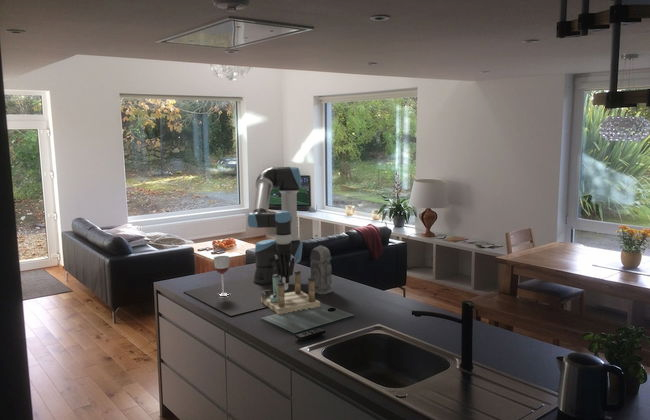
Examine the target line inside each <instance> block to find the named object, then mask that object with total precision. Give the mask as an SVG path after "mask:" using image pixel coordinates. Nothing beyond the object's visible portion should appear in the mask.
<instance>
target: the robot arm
mask: <svg viewBox="0 0 650 420" xmlns="http://www.w3.org/2000/svg"><path fill="white" fill-rule="evenodd" d="M255 181H256V182H255V188H256V190H255V191H256V192H255V199H254V204H253V211H252V212H250V213H248V214H247V226H248V227H249V228H254V229H255V228H256V229H262V228H267V229H268V228H275V239H263V240H261V241H258V242H256V243H255V245H254V246H255V249H254V252H255V270H254V274H253V276H252V282H253V283H254V282H255V283H254V284H257V283H258V284H260V285H273V276H272V275H274V274H278V275H279V282H280V278H281V282H280V283H284V291H287V290H288V289H289V283H290V277H291V276H292V275H293V274H294V268H295V264H296V263H299V262H300V261H301V259H302V253H303V241H301V238H300V237H299V236H298V207H297V206H298V203H297V202H298V201H297V200H298V199H297V198H298V197H297V194H298V193H299V191H300V188H302V178H301V172H300V169H299V167H296V166H276V167H275V166H272V167H268V168H266V169H264V170H263V171H261V173H260V174H259V175H258V176H257V178H256V180H255ZM273 188H274V189H278V192H279V193H280V194H281V201H280V202H281V210H277V211H276V212H269V207H270V199H271V198H270V197H271V191H272V190H273ZM258 284H257V285H258Z"/></svg>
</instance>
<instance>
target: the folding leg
mask: <svg viewBox="0 0 650 420" xmlns="http://www.w3.org/2000/svg"><path fill="white" fill-rule="evenodd" d="M272 276H273V283H272V295H274V294H276V295H277V297H273V296H271V297H270V302H273V303H276V302H278V283H280V281H279V276H280V275H278V274H274V275H272Z"/></svg>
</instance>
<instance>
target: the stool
mask: <svg viewBox="0 0 650 420" xmlns="http://www.w3.org/2000/svg"><path fill="white" fill-rule="evenodd" d="M293 274H294V291H289V292H285V290H284V283H282V282H279V283H278V302H276V303H273V302H270V297H271V296H273V297H277V295H276V294H274V295H273V294H271V291H272V289H266V290H262V291H261V297H260V302H261V304H263V305H265V306H266V307H267V308H269V309H271V311H272V312H274V313H275V314H277V315H283V313H284V314H289V313H294V312H293V311H295V312H298V311H297V310H300V311H303V310H302V309H306V310H309V309H308V308H311V309H315V308H316V307H317V308H321V301H319V300H318V299H316V298H315V297H316V293H315V278H311V277H309V278H307V281H308V287H307V289H308V293H305V292H304V291H302V289H301V287H302V286H301V283H302V282H301V281H302V280H301V270H293ZM288 312H289V313H288Z"/></svg>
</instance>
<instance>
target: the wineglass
mask: <svg viewBox="0 0 650 420" xmlns="http://www.w3.org/2000/svg"><path fill="white" fill-rule="evenodd" d="M213 264H214V269H215V271H216V272H217V273H218V274H220V275H221V292H220V293H221V294H219V293H218V294H219V295H220V296H227V295H229V294H230V293H229V294H227V293H228V292H224V291H225V290H224V289H225V288H224V287H225V286H224V274H225V273H226V272H228V270H229V269H230V256H228V255H218V256H215V257H213ZM227 297H228V296H227Z"/></svg>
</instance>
